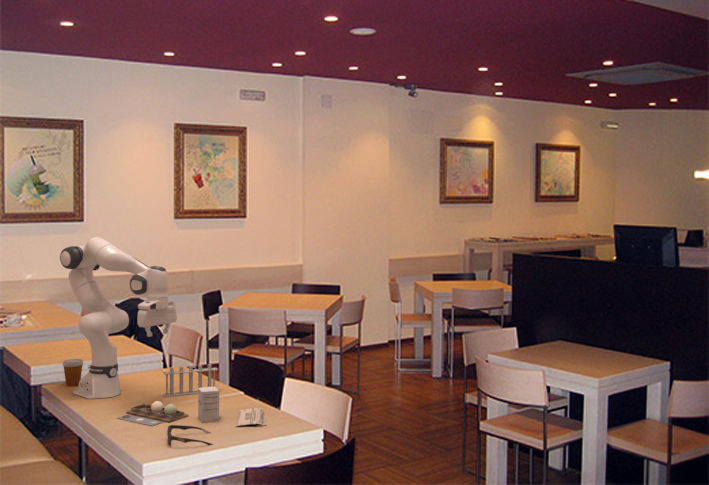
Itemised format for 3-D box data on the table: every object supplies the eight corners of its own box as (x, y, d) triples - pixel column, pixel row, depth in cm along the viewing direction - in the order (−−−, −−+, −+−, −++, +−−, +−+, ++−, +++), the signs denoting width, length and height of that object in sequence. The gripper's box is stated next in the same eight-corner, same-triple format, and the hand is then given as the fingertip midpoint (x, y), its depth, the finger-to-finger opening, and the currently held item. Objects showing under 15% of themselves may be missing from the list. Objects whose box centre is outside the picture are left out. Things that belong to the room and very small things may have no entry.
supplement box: (197, 417, 292) (197, 387, 292) (215, 415, 295) (215, 386, 295) (201, 422, 286) (201, 391, 285) (219, 420, 288) (219, 390, 288)
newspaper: (266, 428, 281) (266, 422, 281) (235, 431, 280) (235, 425, 280) (267, 411, 304) (267, 406, 304) (239, 415, 303) (238, 409, 302)
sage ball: (161, 416, 290) (161, 405, 290) (170, 412, 295) (170, 401, 294) (170, 419, 288) (170, 407, 287) (179, 414, 292) (178, 403, 292)
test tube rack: (164, 397, 324) (164, 369, 323) (162, 395, 328) (162, 367, 327) (218, 392, 334) (218, 364, 334) (215, 390, 338) (216, 362, 338)
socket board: (126, 413, 297) (126, 408, 297) (146, 407, 306) (146, 402, 306) (169, 422, 284) (169, 417, 284) (188, 416, 294) (188, 411, 294)
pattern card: (116, 418, 289) (116, 417, 289) (128, 415, 295) (128, 413, 295) (152, 426, 279) (152, 425, 279) (163, 422, 285) (163, 421, 285)
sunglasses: (166, 435, 269) (167, 422, 269) (210, 437, 273) (212, 424, 273) (165, 449, 253) (167, 435, 253) (212, 451, 257) (214, 438, 257)
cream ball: (148, 413, 294) (148, 401, 294) (157, 410, 299) (157, 399, 298) (157, 415, 292) (157, 403, 292) (165, 412, 296) (165, 400, 296)
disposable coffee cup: (76, 381, 351) (76, 357, 350) (87, 384, 345) (87, 360, 345) (58, 385, 343) (58, 361, 343) (69, 388, 338) (69, 363, 337)
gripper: (169, 300, 319) (169, 331, 320) (135, 305, 301) (134, 337, 302) (180, 301, 316) (180, 332, 316) (145, 306, 298) (145, 339, 299)
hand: (157, 334), depth 309 cm, fingers open, 8 cm apart
